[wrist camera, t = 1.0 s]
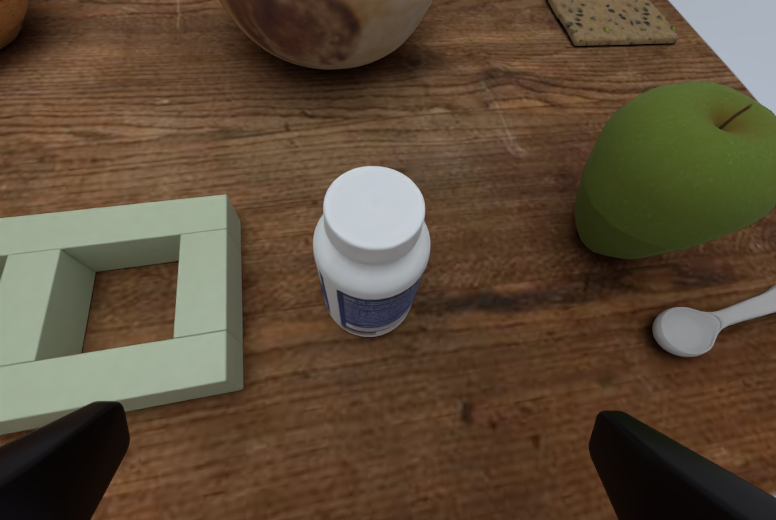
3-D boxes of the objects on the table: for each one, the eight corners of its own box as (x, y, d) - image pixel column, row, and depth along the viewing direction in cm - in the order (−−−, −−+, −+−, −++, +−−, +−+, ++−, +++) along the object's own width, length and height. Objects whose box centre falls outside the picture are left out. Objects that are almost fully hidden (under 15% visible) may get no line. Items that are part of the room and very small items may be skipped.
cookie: (573, 46, 36) (578, 37, 35) (533, -19, 42) (536, -29, 41) (677, 43, 38) (685, 34, 37) (626, -19, 43) (631, -28, 42)
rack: (244, 389, 20) (226, 380, 17) (-197, 472, 17) (-303, 476, 14) (241, 221, 24) (226, 193, 22) (-101, 261, 21) (-167, 235, 19)
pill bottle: (428, 295, 23) (471, 204, 14) (370, 357, 21) (379, 295, 12) (367, 243, 24) (371, 131, 16) (306, 297, 22) (274, 203, 14)
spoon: (632, 321, 23) (657, 310, 21) (760, 282, 26) (790, 270, 24) (660, 367, 22) (689, 360, 20) (790, 320, 25) (826, 310, 23)
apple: (682, 259, 26) (899, 135, 15) (600, 314, 23) (790, 210, 13) (595, 174, 29) (726, 23, 19) (515, 214, 26) (614, 67, 16)
